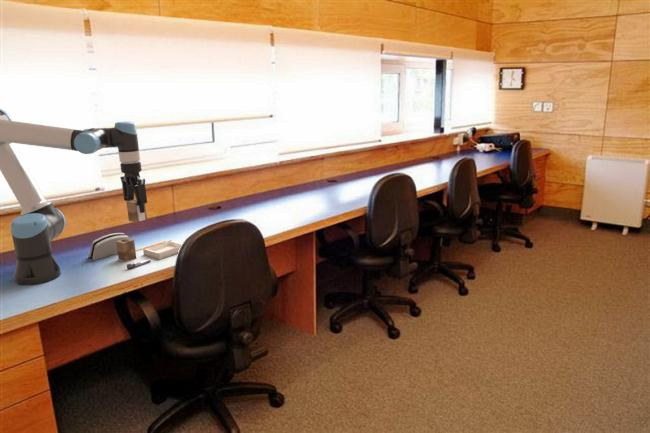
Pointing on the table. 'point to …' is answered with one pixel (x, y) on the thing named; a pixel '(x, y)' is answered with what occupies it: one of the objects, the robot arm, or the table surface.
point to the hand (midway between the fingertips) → (137, 219)
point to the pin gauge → (137, 264)
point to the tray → (162, 249)
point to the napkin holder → (105, 245)
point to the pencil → (149, 246)
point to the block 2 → (133, 210)
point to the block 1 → (126, 249)
